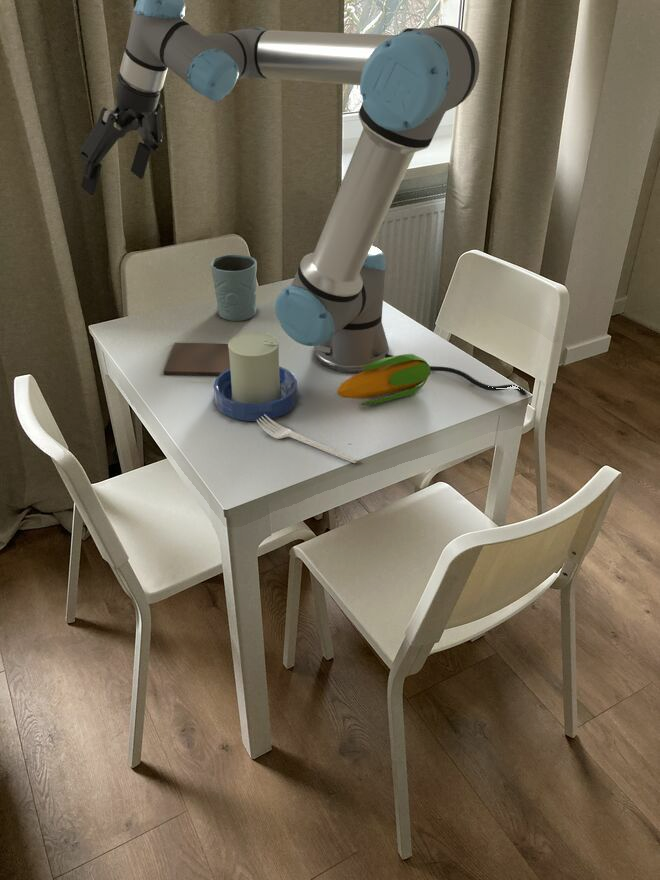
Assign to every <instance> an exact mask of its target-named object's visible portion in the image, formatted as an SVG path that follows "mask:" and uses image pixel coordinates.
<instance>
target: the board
mask: <svg viewBox="0 0 660 880" xmlns="http://www.w3.org/2000/svg"><path fill="white" fill-rule="evenodd" d="M229 368H230V358H229V348H228V343H221V342H220V343H215V342H214V343H213V342H174V344H173V347H172V349H171V352H170V354H169V356H168V359H167V362H166V364H165V367H164V368H163V369H164V370H163V375H165V376H166V375H167V376H171V375H172V376H210V377H211V376H213V377H215V376H216V377H218V376H219V375H220V374H221V373H222V372H224V371H226V370H227V369H229Z"/></svg>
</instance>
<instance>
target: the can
mask: <svg viewBox="0 0 660 880" xmlns="http://www.w3.org/2000/svg"><path fill="white" fill-rule="evenodd" d="M227 344H228V348H229V358H230V371H231V385H232V398H231V399H232V401H235V402H240V403H245V404H261V403H268V402H272V401H275V400H278V399H281V394H280V381H279V366H280V341H279V340H278V338H276V336H274V335H272V334H269V333H266V332H262V331H261V332H258V331H252V332H251V331H249V332H244V333H240V334H237V335H235V336H233V337H232V338H231V339H229V341H228V343H227Z"/></svg>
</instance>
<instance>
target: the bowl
mask: <svg viewBox="0 0 660 880" xmlns="http://www.w3.org/2000/svg"><path fill="white" fill-rule="evenodd" d="M279 381H280V394H281V399H278V400H275V401H272V402H268V403H261V404H245V403H240V402H235V401H232V399H231V398H232V385H231V371H230V368H229V369H227V370H226V371H224V372H222V373H221V374H220V375H219V376H216V378H215V379H214V383H213V394H214V403H215V405H216V408H217V409H218V410H219V411H220V412H221V413H222V414H223V415H225V416H227V417H230V418H232V419H236V420H240V421H246V422H257V420H258V421H259V422H261V421H260V420H259V418H260V419H261V420H262V421H264V420H263V419H262V417H264V418H265V419H266V420H267V421H269V420H268V419H267V418H266V417H265V416H264V414H265V415H266V416H268V417H269V418H270V419H272V420H273V419H276V418H279V417H281V416H284V415H286V414H287V413H289V412H290V411H291V410H293V408H294V407H295V405H296V404H297V402H298V379H296V376H295V375H294V373H292V372H291V371H290V370H288V369H287V368H285V367H282V366H280V365H279ZM261 416H262V417H261Z"/></svg>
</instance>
